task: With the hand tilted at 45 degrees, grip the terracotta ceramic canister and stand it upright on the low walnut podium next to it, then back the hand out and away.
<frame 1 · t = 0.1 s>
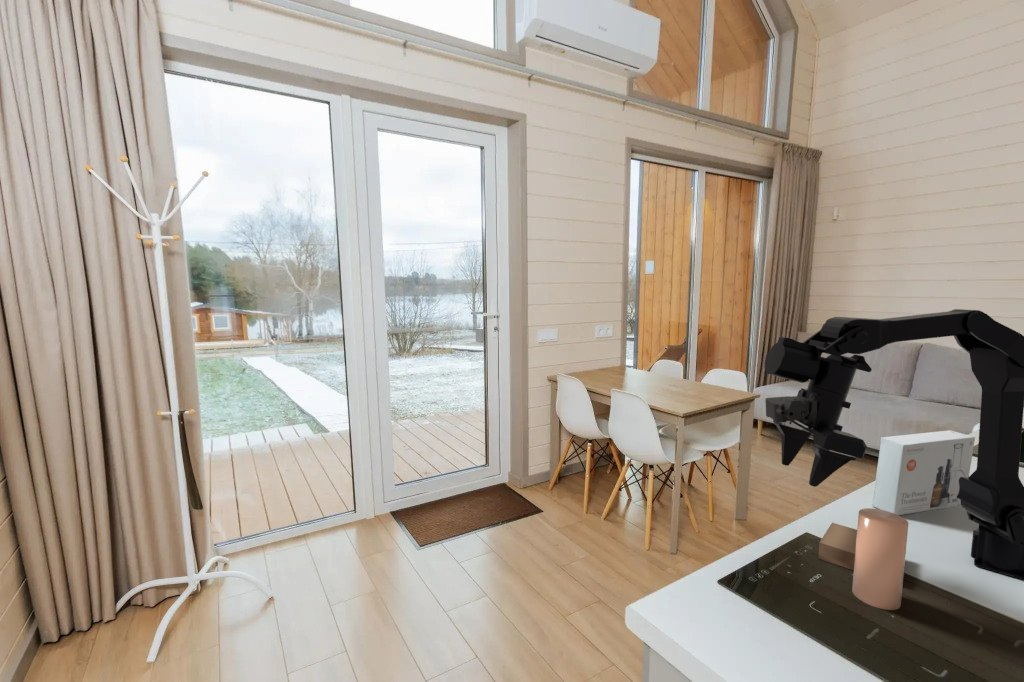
hand: (797, 474, 83), 15 cm above the counter, tool pointing down, fingers open, 9 cm apart
canister: (875, 597, 74), on the counter
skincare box: (919, 507, 105), on the counter
podium: (857, 558, 85), on the counter
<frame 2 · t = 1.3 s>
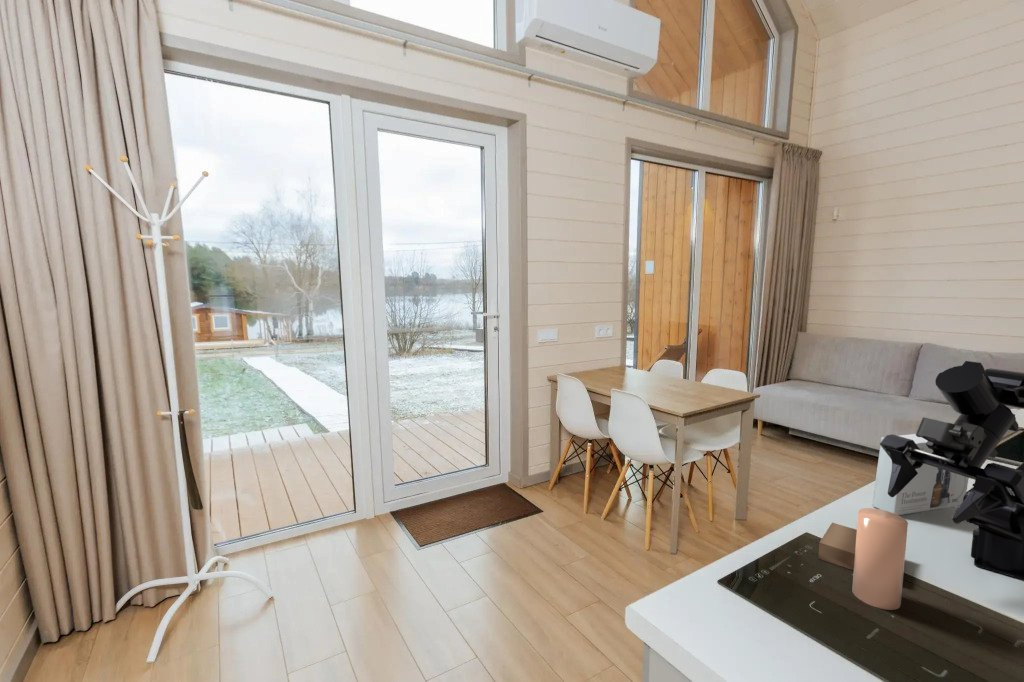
hand: (920, 507, 75), 13 cm above the counter, tool tilted 45°, fingers open, 9 cm apart
nothing on the counter moved.
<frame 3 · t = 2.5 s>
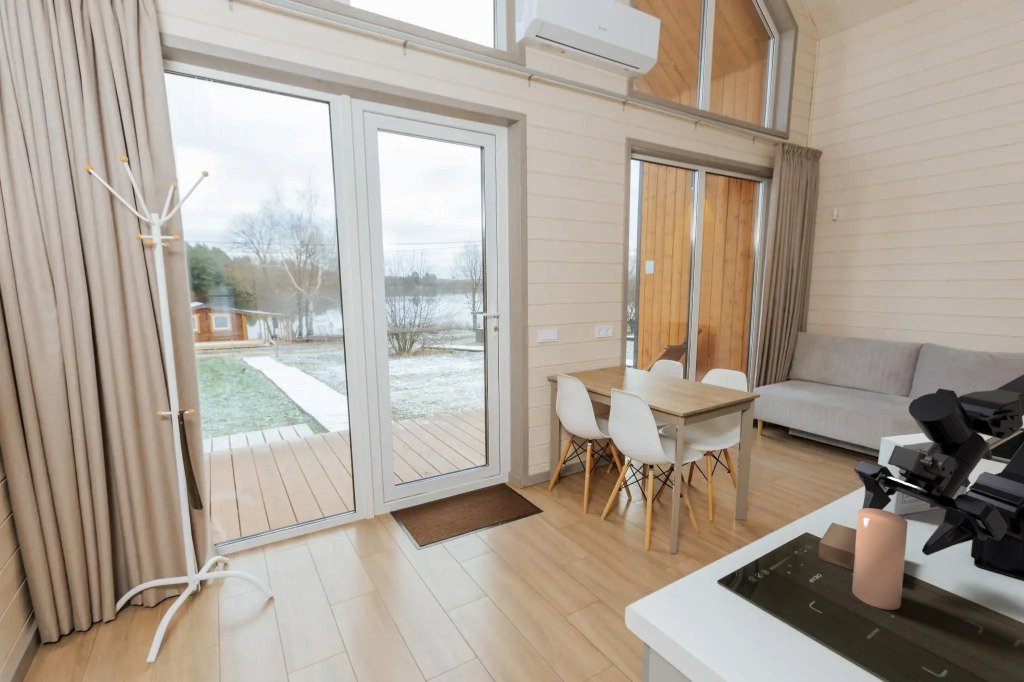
hand: (891, 537, 74), 9 cm above the counter, tool tilted 45°, fingers open, 9 cm apart
nothing on the counter moved.
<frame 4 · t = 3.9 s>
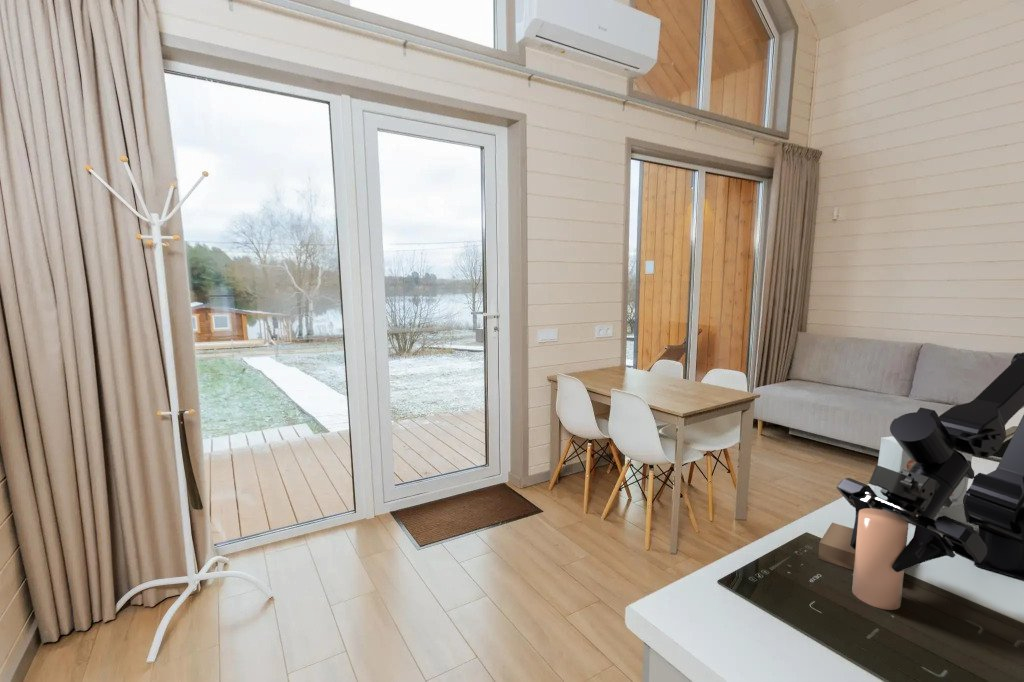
hand: (872, 558, 73), 7 cm above the counter, tool tilted 45°, fingers closed on canister, 6 cm apart
canister: (875, 596, 74), on the counter, touching gripper
everything else where it was.
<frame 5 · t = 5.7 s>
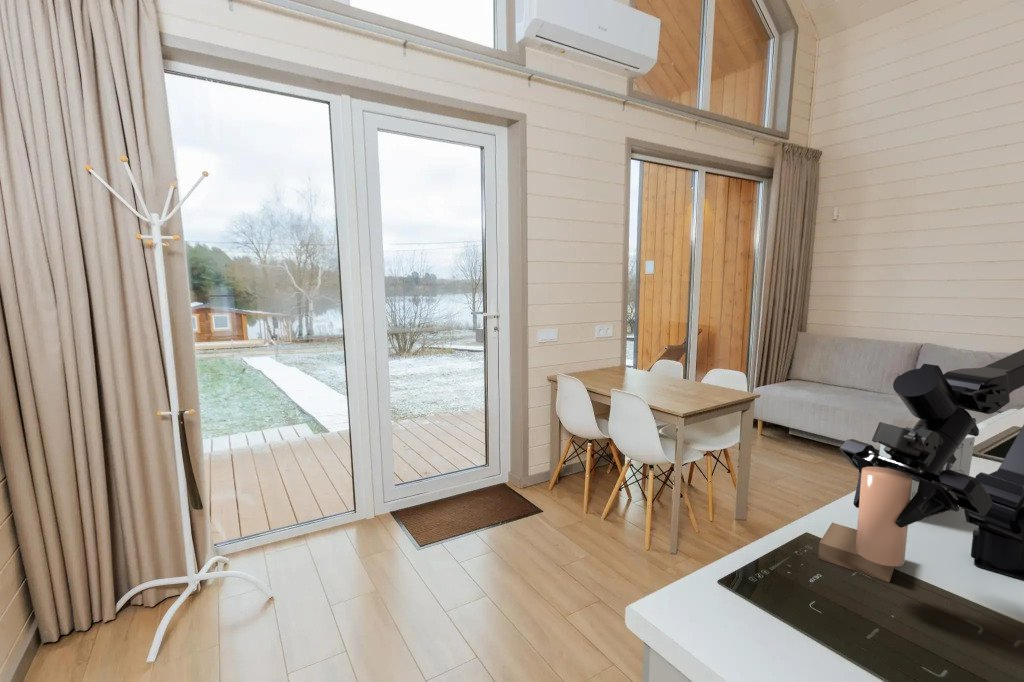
hand: (875, 515, 72), 13 cm above the counter, tool tilted 45°, fingers closed on canister, 6 cm apart
canister: (879, 555, 74), point 7 cm above the counter, touching gripper
everything else where it was.
when the fingers open (11 cm above the counter, at t = 7.6 s): canister drops 1 cm, resting on podium.
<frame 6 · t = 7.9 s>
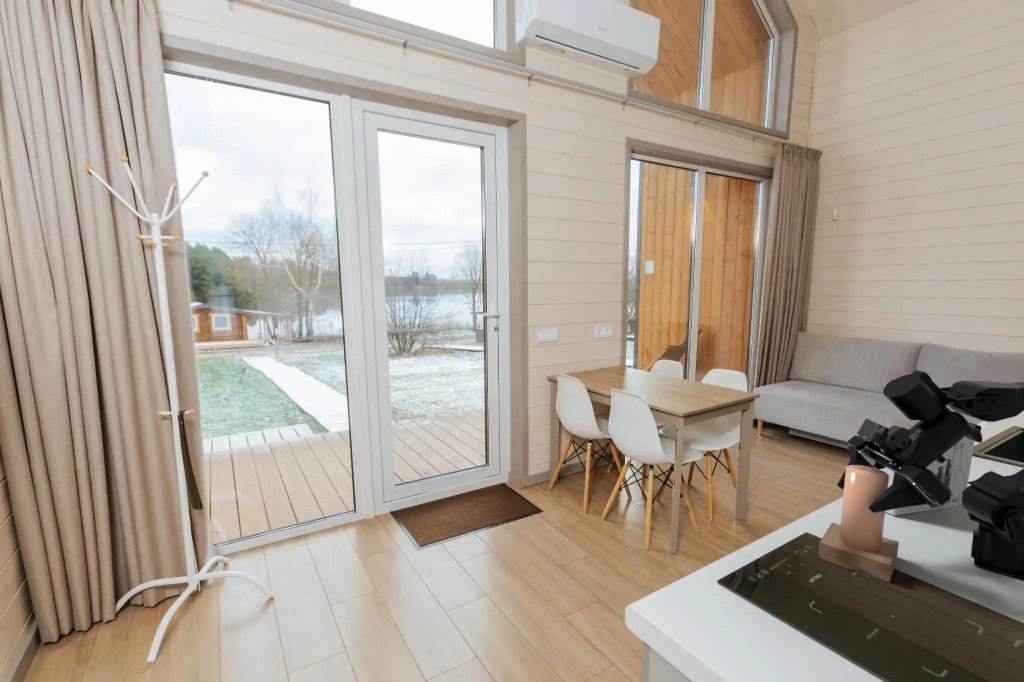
hand: (854, 498, 84), 11 cm above the counter, tool tilted 45°, fingers open, 9 cm apart
canister: (859, 541, 84), point 3 cm above the counter, touching podium
everything else where it was.
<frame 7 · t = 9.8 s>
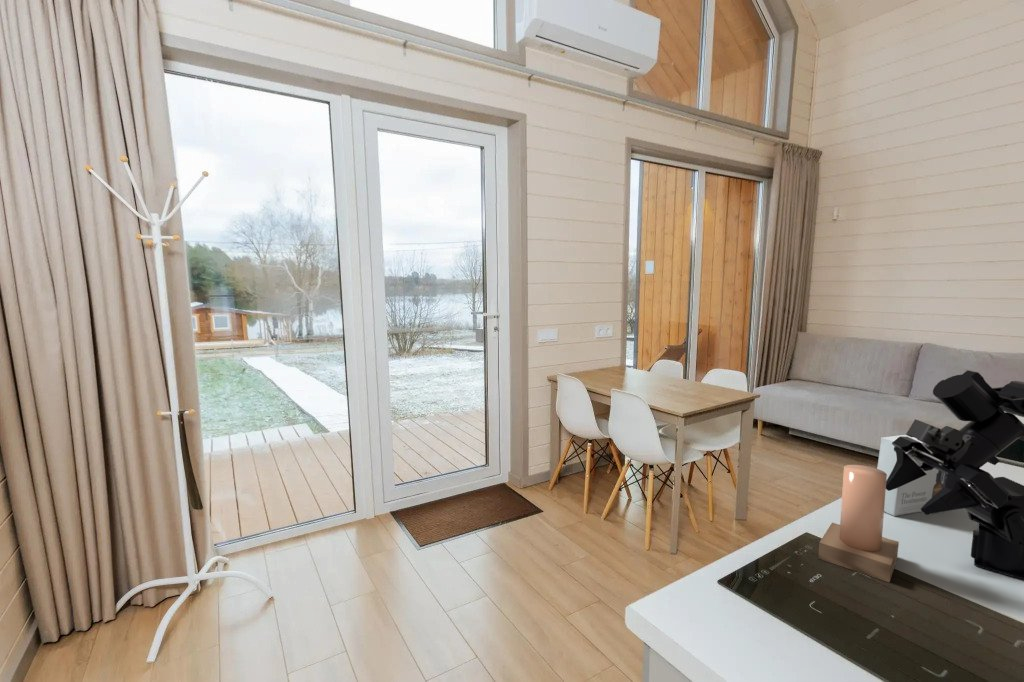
hand: (903, 499, 83), 11 cm above the counter, tool tilted 45°, fingers open, 9 cm apart
nothing on the counter moved.
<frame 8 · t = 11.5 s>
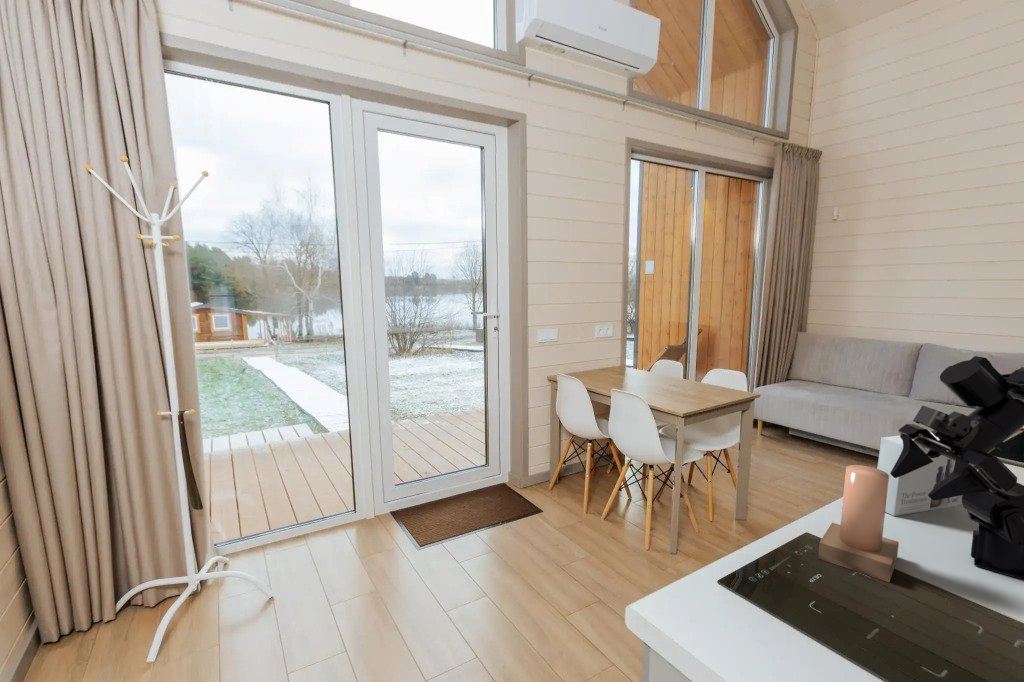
hand: (910, 486, 82), 14 cm above the counter, tool tilted 45°, fingers open, 9 cm apart
nothing on the counter moved.
at the end: canister 0.1 cm off-centre on the podium, point 3.1 cm above the podium's base; canister tilted 1°; the gripper is holding nothing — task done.
